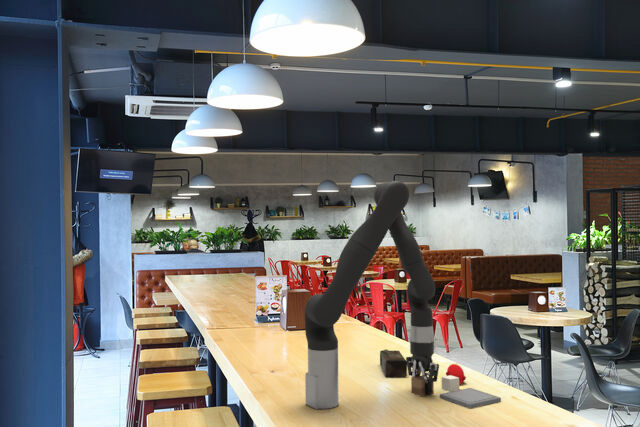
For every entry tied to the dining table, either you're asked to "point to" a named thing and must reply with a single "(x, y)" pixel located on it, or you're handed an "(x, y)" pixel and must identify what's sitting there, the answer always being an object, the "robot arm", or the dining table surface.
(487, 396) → the plate
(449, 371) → the red rounded lumpy piece
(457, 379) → the cream block
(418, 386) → the walnut block
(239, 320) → the dining table surface
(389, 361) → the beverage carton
